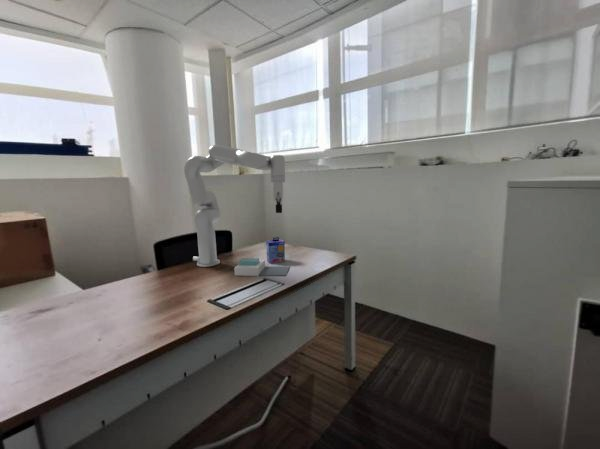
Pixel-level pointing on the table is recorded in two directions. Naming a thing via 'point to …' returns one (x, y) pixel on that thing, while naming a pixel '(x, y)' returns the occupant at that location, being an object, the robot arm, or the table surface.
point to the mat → (274, 271)
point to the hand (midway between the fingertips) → (278, 211)
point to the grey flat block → (250, 269)
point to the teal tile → (249, 261)
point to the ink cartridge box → (275, 250)
